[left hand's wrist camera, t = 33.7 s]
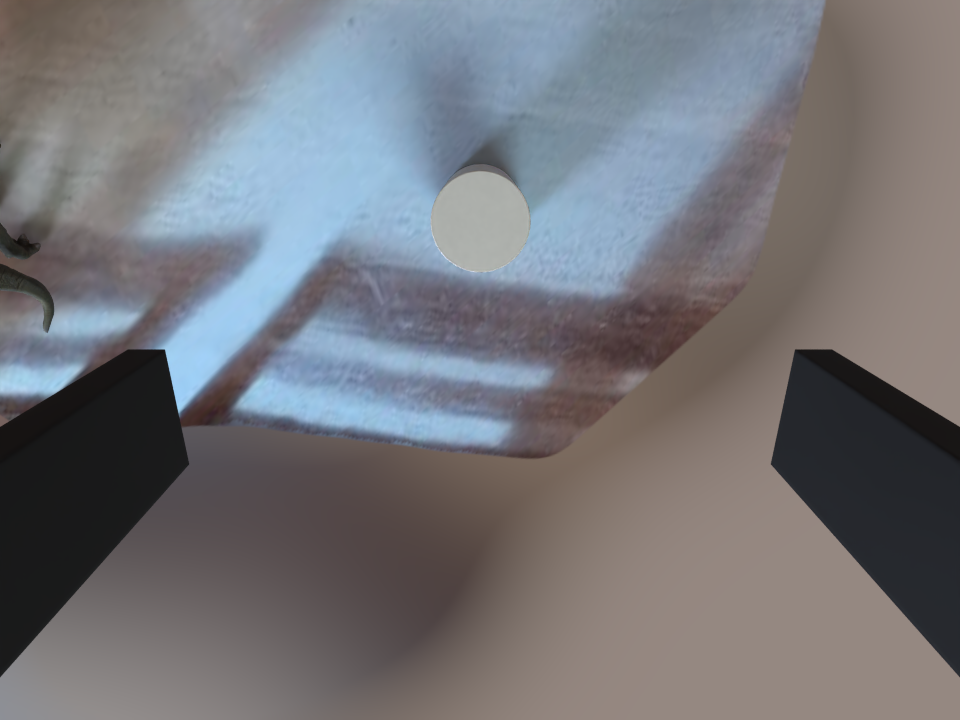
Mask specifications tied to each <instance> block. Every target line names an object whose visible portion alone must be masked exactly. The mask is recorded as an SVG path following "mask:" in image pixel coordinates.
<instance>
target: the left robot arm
mask: <svg viewBox="0 0 960 720" xmlns="http://www.w3.org/2000/svg"><path fill="white" fill-rule="evenodd" d="M188 465H189V461H188V457H187V452H186V447H185V442H184V438H183V433H182V428H181V423H180V419H179V414H178V409H177V405H176V400H175V395H174V390H173V386H172V381H171V376H170V371H169V367H168V362H167V357H166V353H165V350H126V351H125V352H123V353H122V354H120V355H118V356H117V357H115V358H113V359H112V360H110V361H108V362H107V363H105V364H103V365H102V366H100V367H98V368H97V369H95V370H93V371H92V372H90V373H89V374H87V375H85V376H84V377H82V378H80V379H79V380H77V381H75V382H74V383H72V384H70V385H69V386H67V387H65V388H64V389H62V390H60V391H59V392H57V393H55V394H54V395H52V396H51V397H49V398H47V399H46V400H44V401H42V402H41V403H39V404H37V405H36V406H34V407H32V408H31V409H29V410H27V411H26V412H24V413H22V414H21V415H19V416H17V417H16V418H14V419H13V420H11V421H9V422H8V423H6V424H4V425H3V426H1V427H0V677H1V676H2V675H3V673H4V672H5V671H6V670H7V669H8V668H9V667H10V666H11V664H12V663H13V662H14V661H15V660H16V659H17V658H18V657H19V655H20V654H21V653H22V652H23V651H24V650H25V649H26V647H27V646H28V645H29V644H30V643H31V642H32V641H33V640H34V638H35V637H36V636H37V635H38V634H39V633H40V632H41V631H42V629H43V628H44V627H45V626H46V625H47V624H48V623H49V622H50V620H51V619H52V618H53V617H54V616H55V615H56V614H57V613H58V611H59V610H60V609H61V608H62V607H63V606H64V605H65V604H66V602H67V601H68V600H69V599H70V598H71V597H72V596H73V595H74V593H75V592H76V591H77V590H78V589H79V588H80V587H81V585H82V584H83V583H84V582H85V581H86V580H87V579H88V578H89V577H90V575H91V574H92V573H93V572H94V571H95V570H96V569H97V567H98V566H99V565H100V564H101V563H102V562H103V561H104V560H105V558H106V557H107V556H108V555H109V554H110V553H111V552H112V551H113V549H114V548H115V547H116V546H117V545H118V544H119V543H120V542H121V540H122V539H123V538H124V537H125V536H126V535H127V534H128V533H129V531H130V530H131V529H132V528H133V527H134V526H135V525H136V523H137V522H138V521H139V520H140V519H141V518H142V517H143V516H144V514H145V513H146V512H147V511H148V510H149V509H150V508H151V507H152V506H153V504H154V503H155V502H156V501H157V500H158V499H159V498H160V496H161V495H162V494H163V493H164V492H165V491H166V490H167V489H168V487H169V486H170V485H171V484H172V483H173V482H174V481H175V480H176V478H177V477H178V476H179V475H180V474H181V473H182V472H183V471H184V469H185V468H186V467H187V466H188ZM771 465H772V466H773V467H774V468H775V469H776V471H777V472H778V473H779V474H780V475H781V476H782V477H783V478H784V480H785V481H786V482H787V483H788V484H789V485H790V486H791V487H792V489H793V490H794V491H795V492H796V493H797V494H798V495H799V496H800V498H801V499H802V500H803V501H804V502H805V503H806V504H807V506H808V507H809V508H810V509H811V510H812V511H813V512H814V513H815V515H816V516H817V517H818V518H819V519H820V520H821V521H822V522H823V523H824V525H825V526H826V527H827V528H828V529H829V530H830V531H831V533H832V534H833V535H834V536H835V537H836V538H837V539H838V540H839V542H840V543H841V544H842V545H843V546H844V547H845V548H846V549H847V551H848V552H849V553H850V554H851V555H852V556H853V557H854V558H855V560H856V561H857V562H858V563H859V564H860V565H861V566H862V567H863V569H864V570H865V571H866V572H867V573H868V574H869V575H870V576H871V578H872V579H873V580H874V581H875V582H876V583H877V584H878V585H879V587H880V588H881V589H882V590H883V591H884V592H885V593H886V595H887V596H888V597H889V598H890V599H891V600H892V601H893V602H894V603H895V605H896V606H897V607H898V608H899V609H900V610H901V611H902V613H903V614H904V615H905V616H906V617H907V618H908V619H909V620H910V622H911V623H912V624H913V625H914V626H915V627H916V628H917V629H918V631H919V632H920V633H921V634H922V635H923V636H924V637H925V638H926V640H927V641H928V642H929V643H930V644H931V645H932V646H933V648H934V649H935V650H936V651H937V652H938V653H939V654H940V655H941V657H942V658H943V659H944V660H945V661H946V662H947V663H948V664H949V665H950V667H951V668H952V669H953V670H954V671H955V672H956V673H957V675H958V676H959V677H960V427H959V426H957V425H956V424H954V423H952V422H951V421H949V420H947V419H946V418H944V417H943V416H941V415H939V414H938V413H936V412H934V411H933V410H931V409H929V408H928V407H926V406H924V405H923V404H921V403H919V402H918V401H916V400H914V399H913V398H911V397H909V396H908V395H906V394H904V393H903V392H901V391H900V390H898V389H896V388H894V387H893V386H891V385H890V384H888V383H886V382H885V381H883V380H881V379H880V378H878V377H876V376H875V375H873V374H871V373H870V372H868V371H867V370H865V369H863V368H862V367H860V366H858V365H857V364H855V363H853V362H852V361H850V360H848V359H847V358H845V357H843V356H842V355H840V354H838V353H837V352H835V351H833V350H795V353H794V357H793V362H792V367H791V372H790V376H789V381H788V386H787V391H786V395H785V400H784V405H783V409H782V414H781V419H780V424H779V428H778V433H777V438H776V442H775V447H774V452H773V457H772V461H771Z"/></svg>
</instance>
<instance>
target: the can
mask: <svg viewBox="0 0 960 720" xmlns="http://www.w3.org/2000/svg"><path fill="white" fill-rule="evenodd" d="M431 231H432V235H433V238H434V241H435V243H436V245H437V247H438V249H439V250H440V252H441V253H442V254H443V255H444V256H445V257H446V259H448V260H449V261H450V262H451V263H453V264H454V265H456V266H458V267H460V268H462V269H465V270H468V271H473V272H489V271H493V270H496V269H499V268H501V267H503V266H505V265H507V264H508V263H510V262H511V261H512V260H513V259H515V258H516V257H517V255H518V254H519V253H520V252H521V250H522V249H523V247H524V245H525V243H526V241H527V238H528V235H529V231H530V212H529V208H528V205H527V202H526V200H525V198H524V196H523V194H522V193H521V191H520V190H519V188H518V187H517V186H516V184H515V183H514V182H513V180H512V179H511V178H510V177H509V176H508V175H507V174H506V173H505V172H504V171H502V170H501V169H499V168H497V167H494V166H491V165H487V164H474V165H470V166H467V167H464V168H462V169H460V170H459V171H457V172H456V173H455V174H454V175H453V176H452V177H451V178H450V179H449V180H448V182H447V183H446V184H445V186H444V187H443V188H442V190H441V191H440V193H439V194H438V196H437V198H436V200H435V202H434V205H433V208H432V213H431Z"/></svg>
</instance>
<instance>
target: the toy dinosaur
mask: <svg viewBox="0 0 960 720" xmlns="http://www.w3.org/2000/svg"><path fill="white" fill-rule="evenodd" d="M0 148H1V144H0ZM40 247H41V246H40V244H39V243H35V244H29V240H28V239H27V237H26V236H25V235H24V234H22V235H21V236H20V237H19V238H18V240H17V241H16V240H15V239H13V238H11V237H10V236H9V234H8V233H7V231H6V229H5V228H4V227H3V226H2V225H1V223H0V250H1V251H2V252H3V253H4V254H5V256H6V257H7V258H11V257H15V258H18V259H27V258H29V257H30V256H31V255H33V254H34V253H36V252H37V251H39V249H40ZM0 290H4V291H16V292H21V293H25V294H27V295H30V296H32V297H34V298H35V299H37V300H38V301H39V302H40V303H41V304H42V306H43V309H44V321H43V329H44V331H45V332H46V333H48V330H49V327H50V324H51V321H52V318H53V315H54V303H53V299H52V297H51V295H50V293H49V292H48V290H47V289H46V287H45V286H44V285H43V284H42V283H40V282H39V281H38V280H36V279H34V278H31V277H29V276H26V275H24V274H22V273H20V272H18V271H16V270H14V269H11V268H9V267H8V266H5V265H3V264H0Z"/></svg>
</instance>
